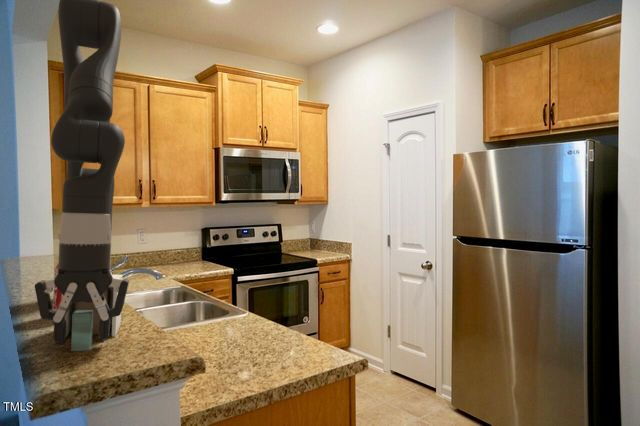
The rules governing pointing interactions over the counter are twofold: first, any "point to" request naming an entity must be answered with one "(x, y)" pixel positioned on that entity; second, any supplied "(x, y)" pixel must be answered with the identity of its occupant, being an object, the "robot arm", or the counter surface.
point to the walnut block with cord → (86, 323)
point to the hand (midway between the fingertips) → (81, 342)
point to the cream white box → (116, 320)
